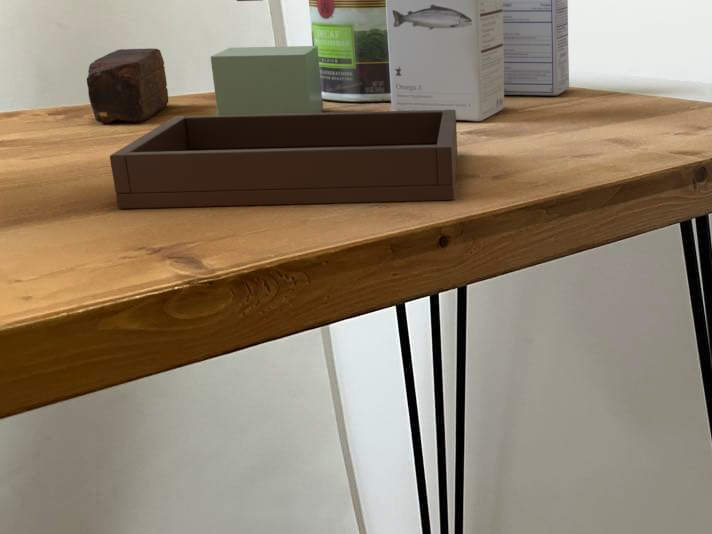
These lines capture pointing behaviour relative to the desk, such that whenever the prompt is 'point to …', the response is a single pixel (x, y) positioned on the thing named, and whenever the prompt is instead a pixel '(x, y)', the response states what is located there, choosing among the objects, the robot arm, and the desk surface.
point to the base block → (267, 80)
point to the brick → (127, 85)
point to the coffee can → (352, 49)
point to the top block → (248, 0)
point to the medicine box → (535, 47)
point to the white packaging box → (446, 56)
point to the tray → (290, 159)
